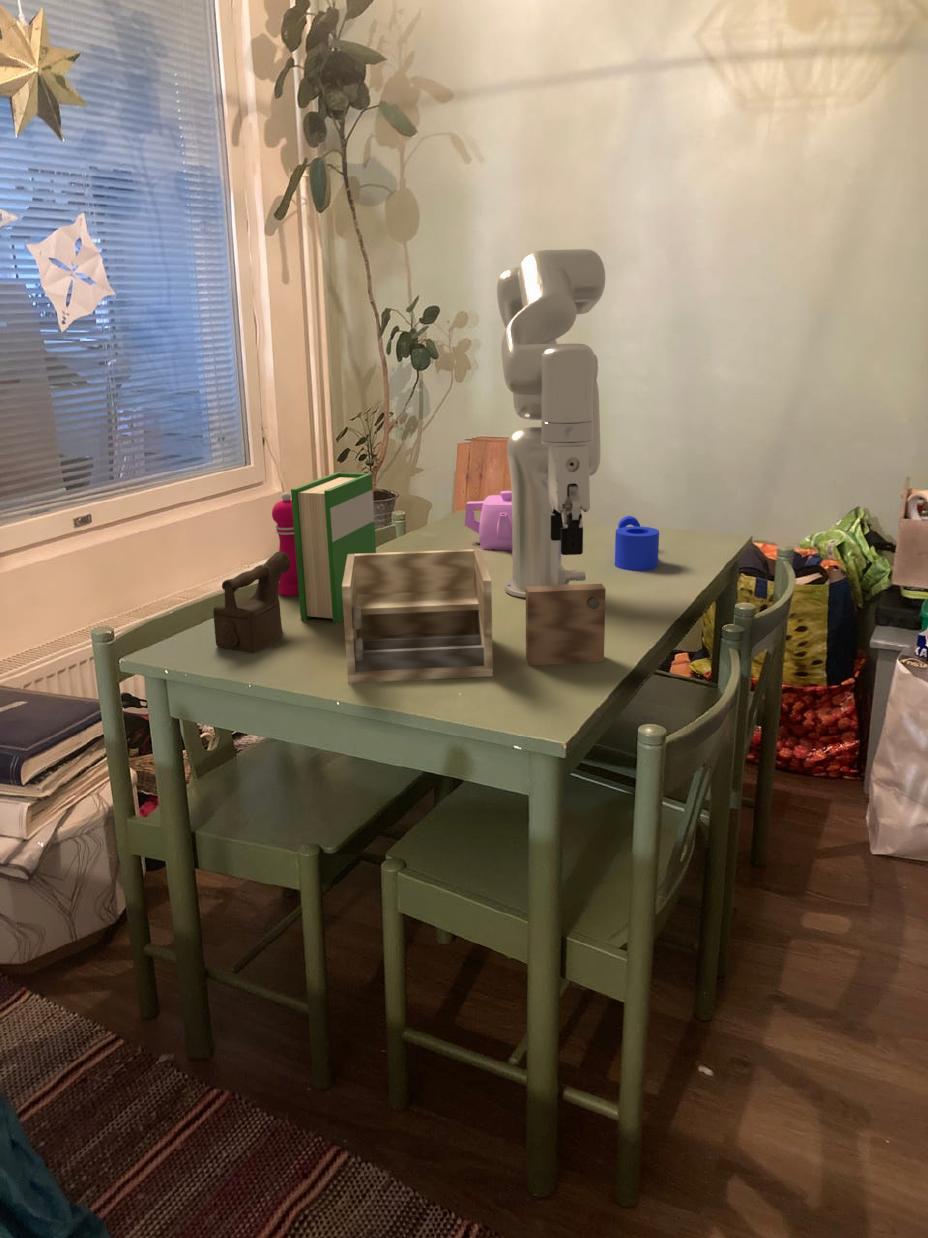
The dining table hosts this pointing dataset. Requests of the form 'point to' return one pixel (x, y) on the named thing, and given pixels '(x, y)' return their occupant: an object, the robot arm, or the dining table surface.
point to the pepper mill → (286, 544)
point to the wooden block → (565, 624)
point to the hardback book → (330, 537)
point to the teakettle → (492, 521)
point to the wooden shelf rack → (417, 615)
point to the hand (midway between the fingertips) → (566, 546)
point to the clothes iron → (252, 608)
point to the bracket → (636, 546)
